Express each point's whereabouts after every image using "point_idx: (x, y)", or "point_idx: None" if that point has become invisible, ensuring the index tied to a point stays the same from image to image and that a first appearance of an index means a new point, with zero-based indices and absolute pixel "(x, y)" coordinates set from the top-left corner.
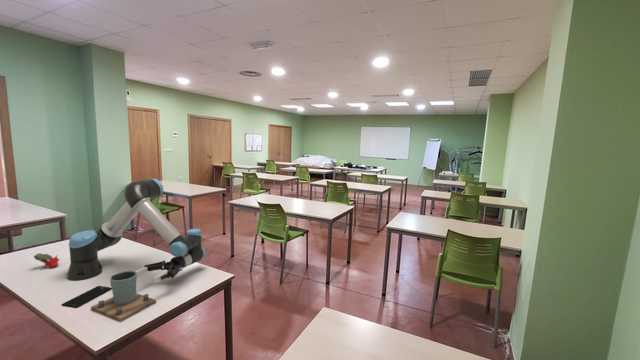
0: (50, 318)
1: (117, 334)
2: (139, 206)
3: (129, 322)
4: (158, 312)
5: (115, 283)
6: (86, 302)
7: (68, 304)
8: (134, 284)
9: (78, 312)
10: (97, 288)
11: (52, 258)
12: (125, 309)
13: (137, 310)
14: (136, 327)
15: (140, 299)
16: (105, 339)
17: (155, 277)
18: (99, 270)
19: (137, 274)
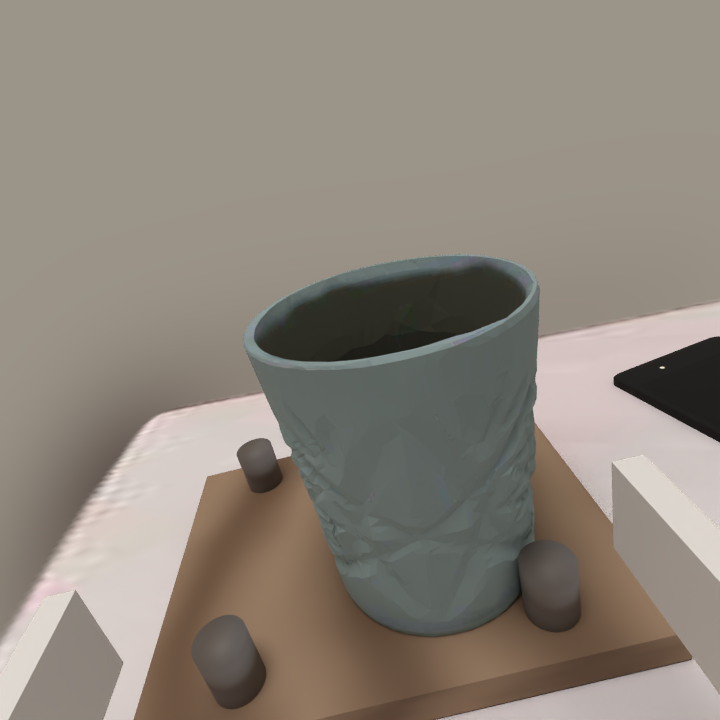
0: (567, 331)
1: (142, 468)
2: None
3: (159, 523)
4: None
5: (340, 305)
6: (662, 406)
7: (690, 353)
8: (293, 456)
9: (541, 387)
10: None
11: None
12: (275, 514)
13: (184, 570)
14: (77, 533)
15: (306, 644)
16: (169, 438)
17: (34, 623)
18: None
19: (645, 554)
